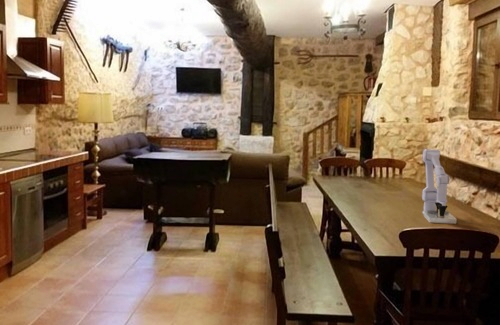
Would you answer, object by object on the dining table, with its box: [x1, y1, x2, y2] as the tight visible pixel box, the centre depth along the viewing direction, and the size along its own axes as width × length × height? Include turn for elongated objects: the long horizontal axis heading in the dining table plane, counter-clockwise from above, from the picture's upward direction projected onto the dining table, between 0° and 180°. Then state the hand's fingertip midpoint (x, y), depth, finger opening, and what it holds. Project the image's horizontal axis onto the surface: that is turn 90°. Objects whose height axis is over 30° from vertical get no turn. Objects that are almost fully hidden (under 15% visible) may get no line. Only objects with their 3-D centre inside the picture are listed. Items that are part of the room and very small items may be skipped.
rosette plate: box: [423, 209, 458, 225], centre depth 312 cm, size 18×16×5 cm
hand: (440, 214), depth 310 cm, fingers open, 6 cm apart
